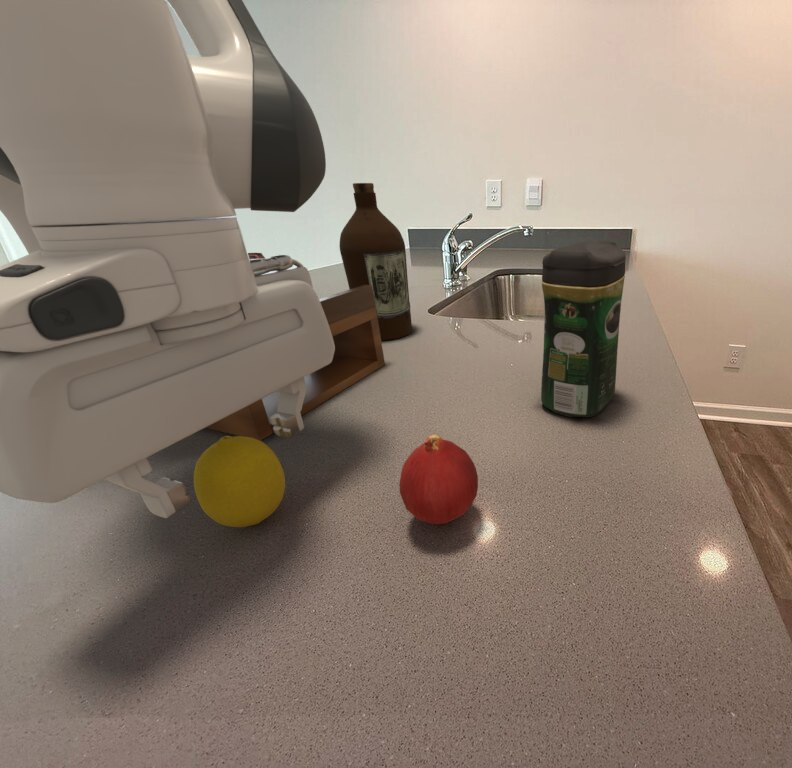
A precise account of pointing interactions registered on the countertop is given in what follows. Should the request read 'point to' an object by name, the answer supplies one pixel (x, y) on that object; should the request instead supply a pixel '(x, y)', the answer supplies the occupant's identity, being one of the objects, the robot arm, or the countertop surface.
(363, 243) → the olive oil
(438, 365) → the countertop surface
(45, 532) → the countertop surface
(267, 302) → the robot arm
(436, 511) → the onion
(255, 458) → the lemon
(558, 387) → the coffee jar
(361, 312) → the shelf
